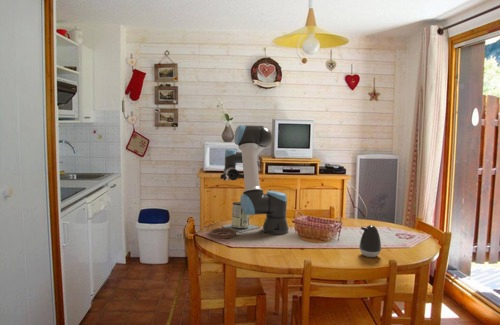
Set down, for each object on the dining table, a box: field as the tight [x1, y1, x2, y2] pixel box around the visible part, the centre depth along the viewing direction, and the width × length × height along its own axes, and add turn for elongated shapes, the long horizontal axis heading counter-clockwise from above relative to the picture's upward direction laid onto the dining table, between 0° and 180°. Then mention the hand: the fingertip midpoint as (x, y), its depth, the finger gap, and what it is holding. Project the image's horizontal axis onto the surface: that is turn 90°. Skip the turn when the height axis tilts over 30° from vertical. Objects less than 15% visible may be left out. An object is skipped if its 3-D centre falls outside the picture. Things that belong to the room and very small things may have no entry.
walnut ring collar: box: [209, 227, 237, 239], centre depth 222 cm, size 14×14×2 cm
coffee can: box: [231, 201, 250, 228], centre depth 236 cm, size 10×10×14 cm
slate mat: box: [221, 223, 260, 233], centre depth 238 cm, size 16×16×1 cm
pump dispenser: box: [359, 224, 382, 258], centre depth 194 cm, size 10×10×15 cm
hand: (238, 178), depth 245 cm, fingers open, 13 cm apart
